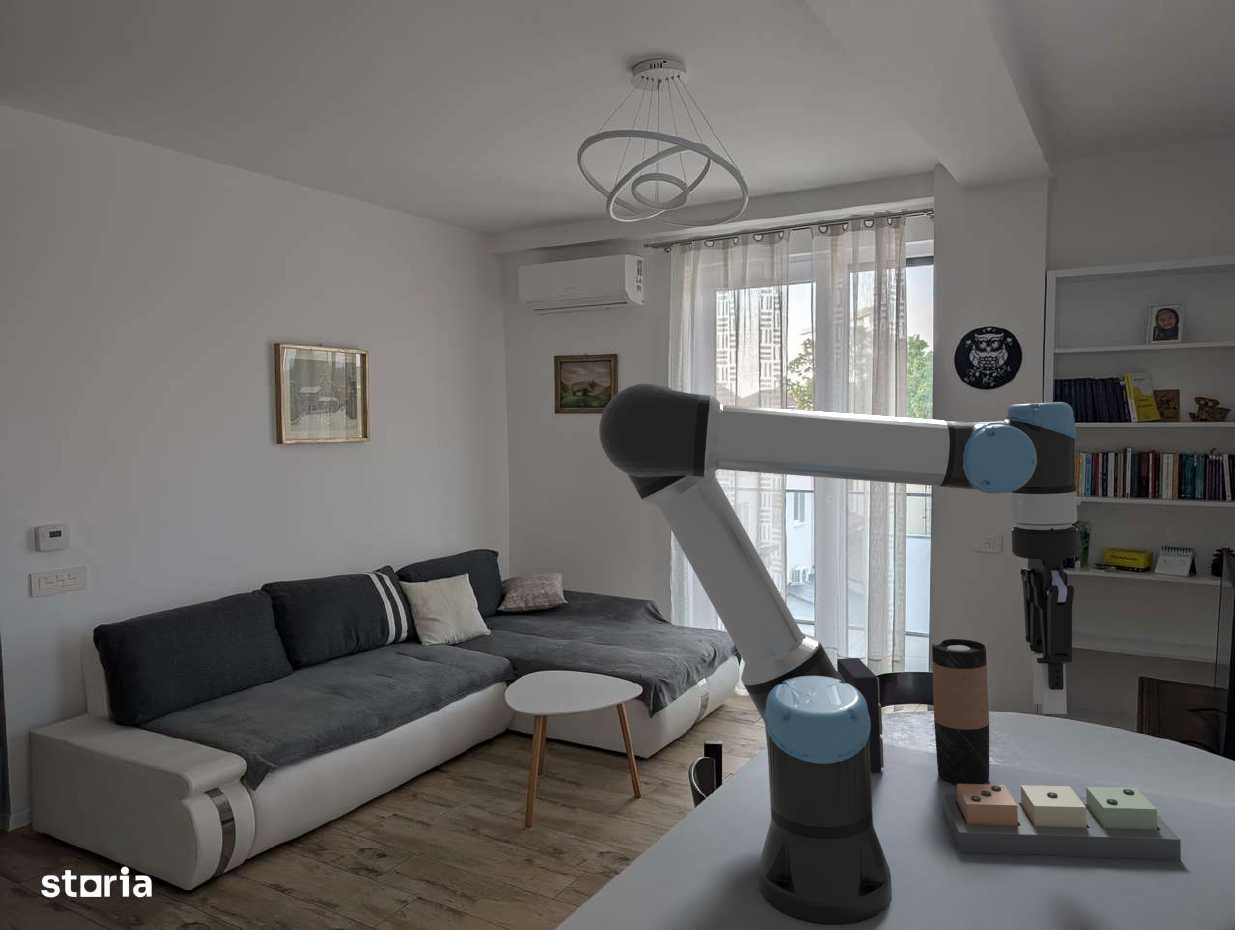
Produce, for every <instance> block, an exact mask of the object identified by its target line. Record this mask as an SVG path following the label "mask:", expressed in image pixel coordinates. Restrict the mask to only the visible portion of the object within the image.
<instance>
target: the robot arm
mask: <svg viewBox="0 0 1235 930" xmlns="http://www.w3.org/2000/svg"><path fill="white" fill-rule="evenodd" d="M1074 415H1075V414H1074V410H1073V408H1072V406H1071V405H1070V404H1069V403H1067V402H1064V401H1057V402H1056V401H1055V402H1053V401H1052V402H1041V403H1040V402H1039V403H1036V402H1035V403H1023V404H1022V403H1020V404H1019V403H1018V404H1017V403H1016V404H1012V405H1010V406H1008V408H1007V415H1006V416H1005V418H1006V419H1001V420H995V421H976V422H975V421H974V422H972V421H971V422H968V421H953V420H952V421H950V420H949V421H947V420H940V419H927V418H926V419H925V418H915V417H914V418H913V417H899V416H885V415H883V416H882V415H871V414H858V413H856V414H855V413H841V412H827V411H816V410H815V411H814V410H803V409H802V410H801V409H800V410H799V409H785V408H773V407H772V408H771V407H758V406H746V405H745V406H744V405H730V404H729V405H728V404H723V403H721V402H720V401H719V400H718V399H717V398H716V396H715V395H709V394H708V395H707V394H699V393H698V394H697V393H691V392H690V393H689V392H683V391H680V390H679V391H678V390H675V389H672V388H670V387H669V386H668V387H667V386H665V385H660V384H654V383H637V384H633V385H631V386H628V387H626V388H624V389H622V390H620V391H619V392H618V393H616V394H615V395H614V396H612V398H611V399H610V400H609V402H608V403H607V405H605V407H604V410H603V412H602V414H601V416H600V420H599V421H600V422H599V425H598V426H599V428H598V432H599V440H600V444H601V448H602V450H603V452H604V453H605V456H606V457H607V459H608V460H610V462H611V464H613V466H615V467H616V468H618V469H619V470H620V471H621V472H623V473H625V474H627V476H628V477H629V480H630V481H631V483H632V485H633V487H634V488H635V491H636V492H637V495H639V497H640V499H641V501H642V502H644V503H647V504H651V505H653V506H656V507H658V509H659V510H660V512H661V514H662V516H663V517H664V519H665V522H667V525H668V526H669V528H670V530H671V532H672V533H673V536H674V537H675V540H676V541H677V543H678V545H679V546H680V548H681V550H682V552H683V554H684V555H685V558H686V559H687V561H688V563H689V564H690V567H691V568H692V570H693V572H694V574H695V576H696V577H697V578H698V579H697V580H698V581H699V582H700V585H701V586H702V588H703V590H704V592H705V593H706V596H707V597H708V599H709V601H710V603H711V605H712V606H713V608H714V610H715V612H716V614H717V615H718V617H719V619H720V620H721V622H722V625H723V627H724V628H725V630H726V632H727V633H728V635H729V637H730V639H731V641H732V643H733V644H734V647H735V648H736V650H737V652H738V654H739V656H740V657H741V659H742V661H743V663H744V665H743V670H742V674H741V677H740V680H741V682H742V684H743V686H744V688H745V689H746V691H747V693H748V695H749V697H750V698H751V701H752V702H753V704H754V706H755V708H756V710H757V712H758V713H759V716H760V717H761V719H762V721H763V724H764V730H765V736H766V737H765V738H766V747H767V748H766V749H767V759H768V761H767V762H768V779H769V780H768V781H769V799H770V800H769V801H770V823H769V827H768V830H767V834H766V836H765V837H766V838H765V840H764V841H765V842H764V845H763V848H762V852H761V855H760V858H759V862H758V882H759V884H760V885H759V888H761V889H760V892H761V891H762V892H761V893H763V894H762V896H763V895H764V896H765V897H764V896H763V897H764V898H765V900H767V901H768V903H770V904H771V905H772V906H773V907H774V908H776V907H777V908H776V909H778V910H780V911H781V912H784V913H785V914H787V915H790V916H792V917H795V918H799V919H801V920H805V921H810V922H815V923H822V924H823V923H824V924H847V923H854V922H859V921H862V920H866V919H868V918H871V917H873V916H876V915H877V914H879V913H881V912H882V911H883V910H884V909H885V908H886V907H887V906H888V904H889V903H890V902H891V899H892V895H893V893H892V892H893V891H892V874H891V870H890V866H889V865H888V861H887V859H886V856H885V853H884V851H883V848H882V844H881V843H880V839H879V837H878V835H877V832H876V829H875V826H874V818H873V817H874V816H873V797H872V796H873V795H872V793H873V792H872V773H871V766H870V743H869V736H870V729H871V724H870V717H869V714H868V709H867V703H866V701H865V698H864V697H863V695H862V694H861V693H860V691H858V690H857V689H856V688H855V687H853V686H852V685H850V684H848V683H845V681H844V679H843V678H842V676H841V675H840V673H839V672H838V670H836V669H837V668H835V666H834V665H833V663H832V661H831V659H830V657H829V656H828V653H827V652H826V650H825V648H824V647H823V645H822V642H820V639H819V638H817V637H816V636H812V635H810V634H805V633H803V632H802V631H801V629H800V627H799V626H798V623H797V622H796V619H795V618H794V616H793V615H792V613H791V610H790V609H789V607H788V605H787V603H786V602H785V600H784V597H783V596H782V595H781V592H780V591H779V589H778V587H777V585H776V584H775V582H774V580H773V578H772V576H771V575H770V574H771V573H769V571H768V569H767V567H766V565H765V564H764V562H763V560H762V558H761V556H760V555H759V553H758V551H757V549H756V547H755V545H754V543H753V542H752V541H751V538H750V537H749V535H748V533H747V531H746V529H745V527H744V525H743V524H742V522H741V520H740V519H739V516H738V514H737V513H736V511H735V510H734V508H733V506H732V504H731V502H730V500H729V499H728V497H727V495H726V493H725V491H724V489H723V488H722V486H721V485H720V482H719V481H718V478H717V477H716V471H718V470H722V471H724V470H725V471H734V472H735V471H736V472H737V471H738V472H746V473H747V472H749V473H763V474H775V475H776V474H777V475H787V476H798V477H799V476H802V477H812V478H813V477H814V478H825V479H826V478H827V479H839V480H851V481H853V480H854V481H865V482H866V481H867V482H877V483H879V482H880V483H893V484H904V485H916V486H917V485H918V486H929V487H943V488H949V489H951V488H952V489H962V490H977V491H980V492H982V493H986V494H998V495H999V494H1008V493H1009V505H1010V506H1009V508H1010V510H1009V511H1010V521H1011V523H1013V524H1015V526H1013V527H1012V528H1011V551H1012V552H1011V553H1012V554H1013V555H1014V556H1016V557H1017V558H1021V559H1025V560H1026V559H1027V567H1022V568H1021V567H1020V568H1021V569H1020V575H1021V580H1022V581H1021V582H1022V592H1023V593H1022V594H1023V595H1022V596H1023V608H1024V609H1023V611H1024V624H1025V627H1024V628H1025V630H1024V631H1025V642H1026V643H1029V649H1030V651H1031V672H1032V676H1031V677H1032V702H1033V704H1034V705H1041V713H1042V714H1044V715H1045V714H1046V715H1052V714H1053V715H1067V714H1068V709H1067V706H1068V705H1067V682H1066V681H1067V672H1066V669H1067V668H1066V664H1067V663H1069V664H1070V663H1072V661H1073V601H1074V595H1075V588H1074V586H1073V584H1070V585H1069V584H1068V574H1067V572H1066V571H1065V569H1064V564H1063V561H1065V560H1067V559H1073V558H1075V557H1077V556H1078V554H1079V552H1080V551H1079V529H1078V528H1077V527H1076V526H1074V525H1072V524H1075V523H1076V522H1077V521H1078V509H1077V506H1079V505H1081V503H1082V499H1081V498H1080V497H1078V496H1077V451H1076V450H1077V449H1076V448H1077V447H1076V446H1077V440H1078V439H1077V435H1076V425H1075V417H1074Z"/></svg>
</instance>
